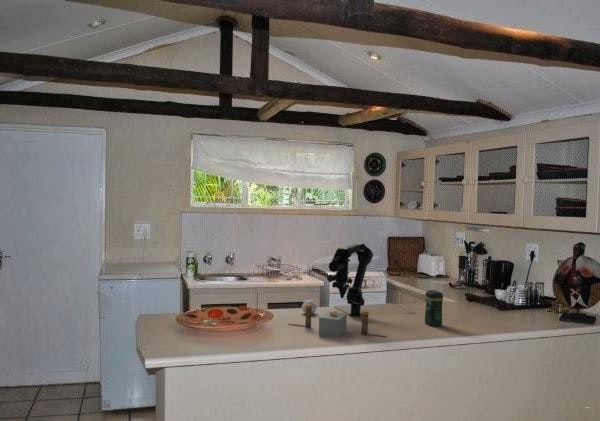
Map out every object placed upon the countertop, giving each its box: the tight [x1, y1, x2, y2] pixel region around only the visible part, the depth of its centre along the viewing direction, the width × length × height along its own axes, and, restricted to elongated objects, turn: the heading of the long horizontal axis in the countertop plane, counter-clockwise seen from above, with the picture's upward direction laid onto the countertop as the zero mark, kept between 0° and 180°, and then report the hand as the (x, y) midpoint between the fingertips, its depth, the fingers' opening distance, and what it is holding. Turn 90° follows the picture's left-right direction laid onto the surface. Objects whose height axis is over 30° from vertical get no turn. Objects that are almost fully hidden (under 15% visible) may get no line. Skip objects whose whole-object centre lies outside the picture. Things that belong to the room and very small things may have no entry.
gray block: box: [318, 310, 348, 339], centre depth 250 cm, size 14×10×11 cm
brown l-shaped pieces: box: [287, 305, 387, 338], centre depth 255 cm, size 3×52×11 cm, turn 68°
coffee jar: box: [424, 289, 444, 327], centre depth 273 cm, size 10×8×19 cm
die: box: [301, 299, 318, 315], centre depth 290 cm, size 8×9×10 cm
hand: (342, 298), depth 278 cm, fingers closed
